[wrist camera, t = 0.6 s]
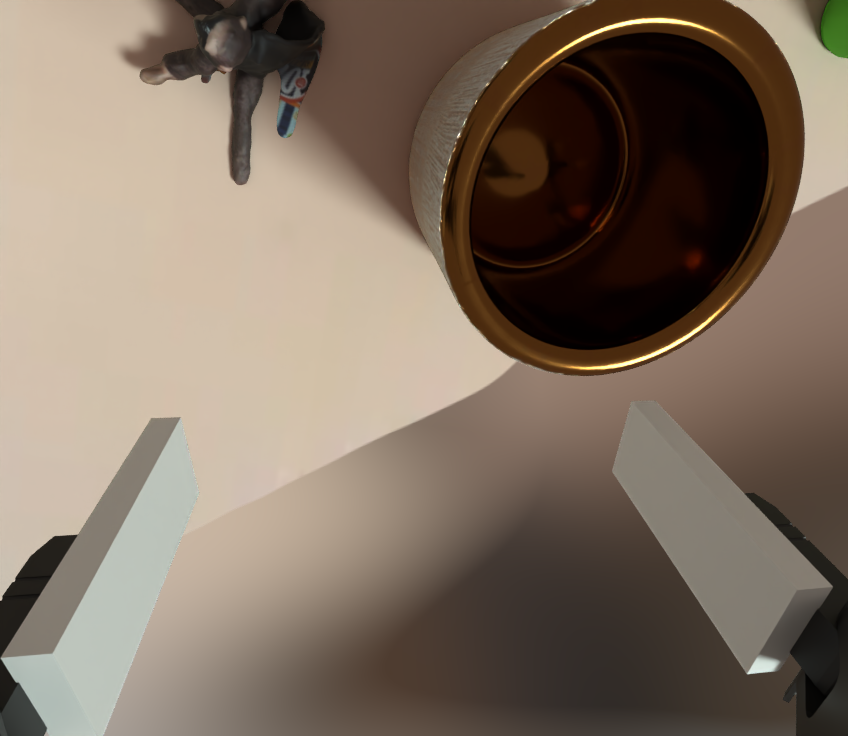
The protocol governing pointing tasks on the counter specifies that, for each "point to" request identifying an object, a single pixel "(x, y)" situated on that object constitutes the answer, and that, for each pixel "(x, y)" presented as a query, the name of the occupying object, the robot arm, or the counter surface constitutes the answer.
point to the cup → (835, 27)
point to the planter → (608, 178)
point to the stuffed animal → (249, 61)
